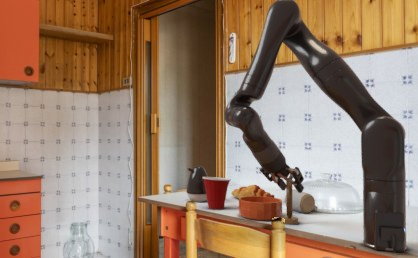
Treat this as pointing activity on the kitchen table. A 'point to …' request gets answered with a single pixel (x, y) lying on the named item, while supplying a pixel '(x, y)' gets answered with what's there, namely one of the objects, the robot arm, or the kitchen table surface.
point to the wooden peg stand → (289, 206)
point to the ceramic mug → (302, 202)
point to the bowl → (260, 207)
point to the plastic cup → (216, 191)
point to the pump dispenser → (196, 184)
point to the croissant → (250, 192)
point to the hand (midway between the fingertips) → (292, 189)
